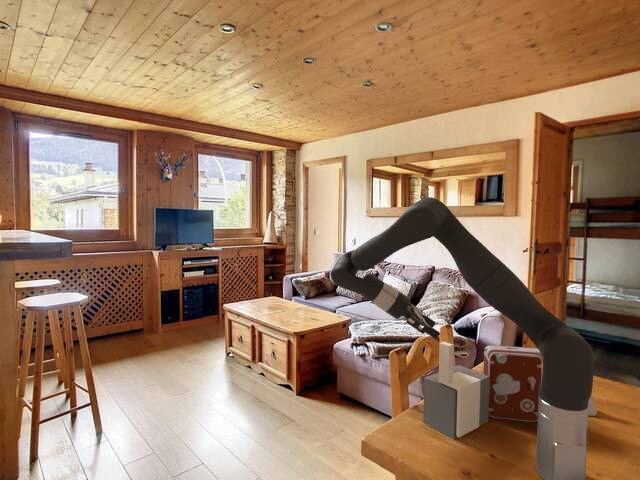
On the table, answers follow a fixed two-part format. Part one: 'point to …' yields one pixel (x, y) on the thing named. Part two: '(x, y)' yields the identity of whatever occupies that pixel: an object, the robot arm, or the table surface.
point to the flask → (591, 408)
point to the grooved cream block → (460, 390)
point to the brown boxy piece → (513, 381)
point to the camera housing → (450, 402)
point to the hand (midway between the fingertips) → (436, 330)
